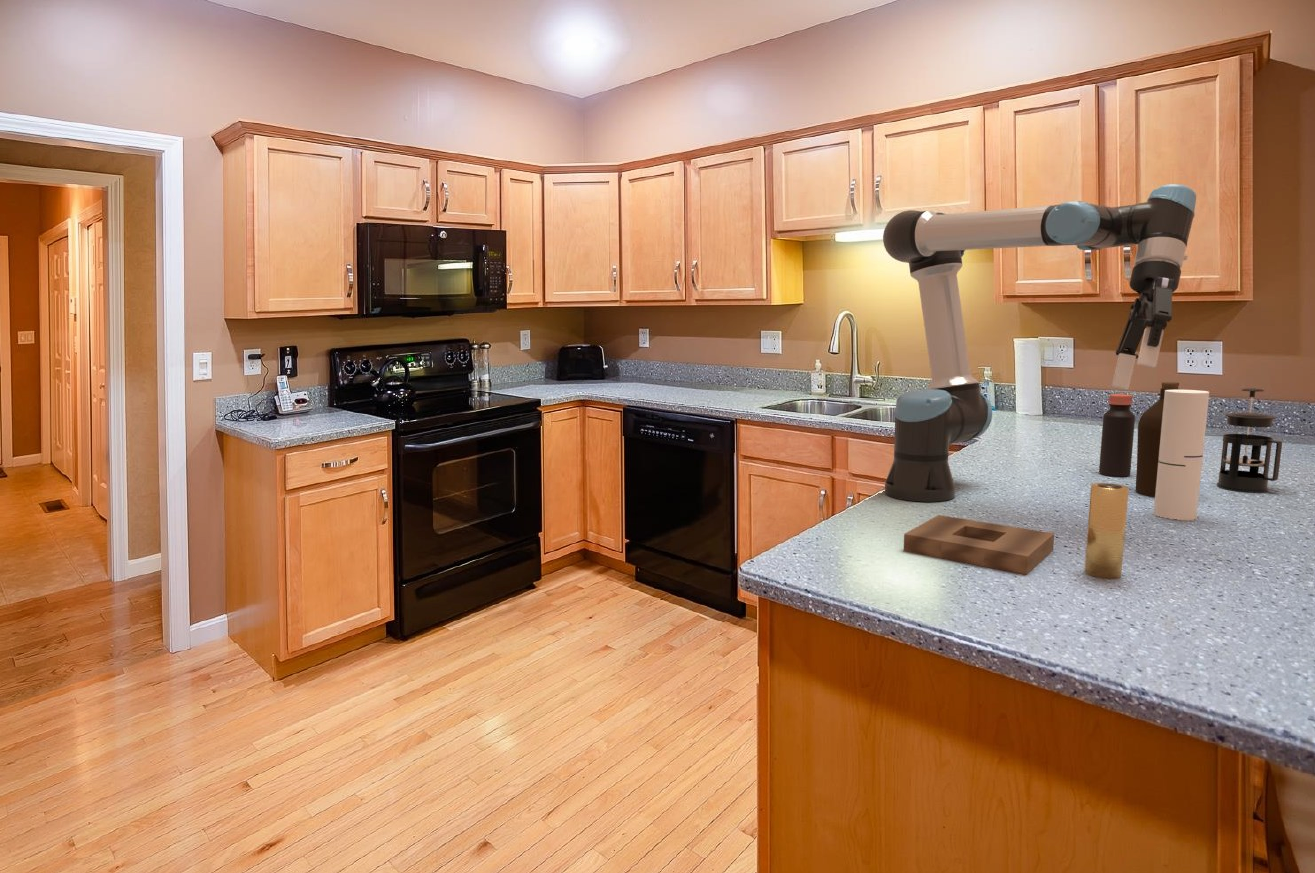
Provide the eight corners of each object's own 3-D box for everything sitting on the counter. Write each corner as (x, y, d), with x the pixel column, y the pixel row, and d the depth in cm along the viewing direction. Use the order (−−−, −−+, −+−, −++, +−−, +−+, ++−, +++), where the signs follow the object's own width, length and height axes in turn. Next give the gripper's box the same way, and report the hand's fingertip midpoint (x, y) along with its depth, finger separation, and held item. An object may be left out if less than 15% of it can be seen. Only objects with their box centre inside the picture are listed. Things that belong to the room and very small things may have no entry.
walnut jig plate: (903, 550, 132) (904, 533, 131) (937, 530, 144) (938, 514, 143) (1026, 574, 119) (1027, 556, 118) (1053, 550, 131) (1054, 533, 130)
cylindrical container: (1203, 521, 147) (1216, 393, 143) (1163, 519, 149) (1174, 393, 145) (1186, 511, 154) (1198, 389, 150) (1147, 510, 156) (1158, 389, 152)
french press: (1204, 485, 177) (1214, 387, 173) (1227, 481, 181) (1237, 385, 177) (1263, 496, 166) (1275, 392, 163) (1285, 491, 170) (1297, 389, 167)
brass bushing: (1081, 574, 119) (1087, 486, 117) (1088, 565, 123) (1095, 480, 120) (1117, 580, 116) (1125, 490, 113) (1124, 572, 119) (1131, 485, 117)
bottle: (1119, 478, 186) (1126, 397, 183) (1092, 473, 192) (1099, 395, 188) (1136, 475, 189) (1143, 395, 186) (1109, 470, 195) (1115, 393, 192)
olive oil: (1160, 500, 164) (1171, 385, 160) (1120, 489, 174) (1130, 381, 170) (1201, 497, 166) (1212, 383, 162) (1159, 487, 176) (1169, 379, 172)
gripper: (1210, 240, 125) (1185, 359, 122) (1154, 298, 149) (1131, 400, 146) (1160, 232, 127) (1133, 349, 124) (1112, 291, 151) (1089, 391, 148)
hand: (1132, 377), depth 135 cm, fingers open, 13 cm apart
